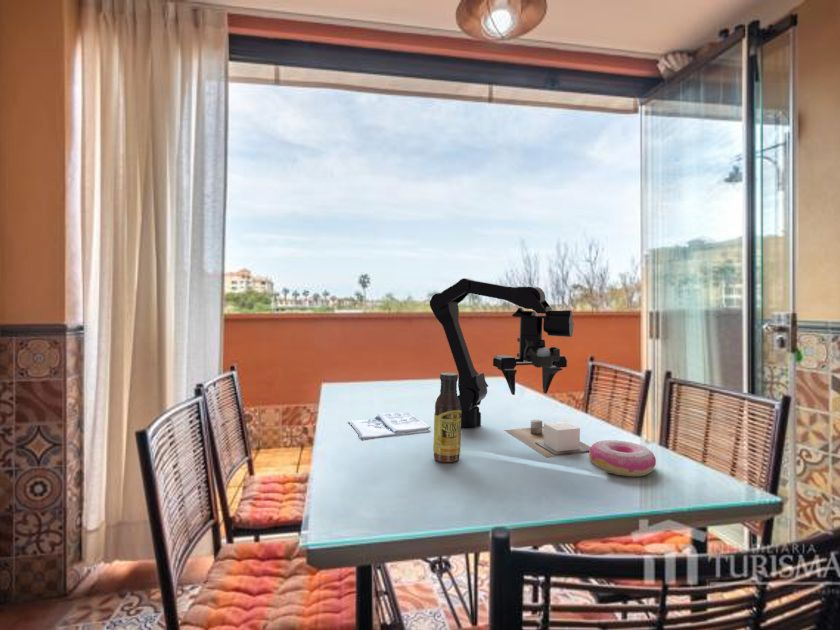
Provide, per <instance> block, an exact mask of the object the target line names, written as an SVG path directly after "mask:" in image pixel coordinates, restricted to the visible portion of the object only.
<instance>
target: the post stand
mask: <svg viewBox="0 0 840 630" xmlns="http://www.w3.org/2000/svg"><path fill="white" fill-rule="evenodd" d="M503 431H505V432H506V433H507V434H509V435H511V436H512V437H514V438H515V439H517V440H518V441H520V442H521V443H523V444H524V445H526V446H528V447H529V448H531V449H532V450H534V451H536V452H538V454H541V455H542V456H543V457H545V458H554V457H555V458H556V457H564V456H572V455H582V454H589V450H590V448H591V446H590V445H588V444H586V443H584V442H582V441H580V449H576V450H566V451H555V450H554V449H552V448H550V447H549V446H547V445H545V444H544V426H543V420H539V419H532V420H530V427H526V428H525V427H524V428H515V429H514V428H513V429H512V428H511V429H504V430H503Z"/></svg>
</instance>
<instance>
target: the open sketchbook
mask: <svg viewBox="0 0 840 630" xmlns="http://www.w3.org/2000/svg"><path fill="white" fill-rule="evenodd" d="M347 423H348V424H349V423H350V424H351V425H352V426H351V425H350V424H349V425H350V426H351V427H352V428H353V430H354V431H355V433H357V434H358V437H359V439H360V440H362V439H365V440H371V438H372V439H379V438H389V437H397V435H399V436H407V434H408V435H415V434H417V435H418V434H427V433H431V430H430V429H431V425H428V424H427V423H425V422H423V421H422V420H421V419H419V418H417V417H416V416H415V415H413V414H411V413H410V412H407V411H406V412H405V411H404V412H391V413H377V415H376V416H375V417H374V418H371V419H370V418H369V419H359V420H348V421H347ZM380 424H385V425H384V426H386V427H387V429H386V428H385V427H382V426H381V427H382V428H381V427H379V426H378V425H380ZM389 429H390V430H389Z"/></svg>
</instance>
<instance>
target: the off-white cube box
mask: <svg viewBox="0 0 840 630" xmlns="http://www.w3.org/2000/svg"><path fill="white" fill-rule="evenodd" d="M543 427H544V444H545V445H547V446H549V447H550V448H552V449H554V450H555V451H566V450H576V449H580V442H581V440H580V439H581V438H580V437H581V434H580V433H581V429H580V427H578V426H576V425H574V424H572V423H569V422H567V421H557V422H544V423H543Z"/></svg>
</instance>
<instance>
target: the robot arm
mask: <svg viewBox="0 0 840 630" xmlns="http://www.w3.org/2000/svg"><path fill="white" fill-rule="evenodd" d="M469 294H471V295H477V296H483V297H488V298H492V299H499V300H505V301H507V302H510V303H511V304H513V305H516V306H519V307H518V308H517V310H516V311H514V313H512V315H511V316H512V317H513V318H519V337H517V339H516V341H517V342H518V344H519V350H518V351H519V352H517V353H516V357H514V356H511V355H509V354H501V355H500V354H499V355H498V354H497V355H495V356H494V357H493V359H492V366H494V367H495V368H497V369H498V370H500V371H501V372H502V374H503V376H504V378H505V380H506V383H507V386H508V389H509V391H510V394H511V395H512V396H513V395H514V396H515V394H516V375H517V371H518V370H517V369H515V368H516V367H517V366H529V365H530V366H531V365H532V366H533V367H535V368H539V369H540V368H541V374H542V375H541V376H542V392H543V393H544V394H547V393H548V391H549V389H550V386H551V384H552V382H553V379H554V377H555V375H556V374H557V373H559V372H561V371H563V368H568V359H567V357H566V356H564V355H561V349H560V348H559V347H558V346H551V347H546V342H545V341H546V340H545V339H544V338H543V333H544V332H545V333H546V334H547V336H548V337H562V338H563V337H564V338H572V337H573V332H574V326H575V325H574V324H575V323H574V321H573V320H574V319H573V311H572V309H564V310H562V309H561V310H559V309H557V310H556V309H554V310H553V308H552V307H551V305H549V303H548V301H547V300H546V294H545V292H544V290H543V289H542V288H541V287H539V286H507V285H503V284H499V283H498V284H497V283H491V282H487V281H486V282H485V281H481V280H475V279H473V278H461V279H460V280H458V281H457V282H455V283H454V284H453V285H451V286H448V288H446V289H444V290H443V291H442V292H437V293H435V294H433V296H431V299H430V300H429V307H430V310H431V312H432V313H433V314H434V317H435V319H437V320H436V321H438V322H439V323H440V324H441V326H442V329H443V331H444V334H445V337H446V341H447V343H448V346H449V350H450V352H451V355H452V358H453V361H454V364H455V367H456V370H457V374H458V380H457V387H458V393H459V394H457V395H458V398H459V401H460V406H461V429H466V430H467V429H470V430H471V429H475V428H477V427H481V426H482V413H481V412H480V407H479V406H480V405H481V402H482V400H484V399H486V396H487V394H488V387H489V384H488V383H487V382H486V377H485V376H486V375H485V374H484V372H481V373H479V372H478V371H477V370H476V369H475V367H474V363H473V360H472V359H471V358H472V357H471V355H470V352H469V349H468V345H467V343H466V340H465V338H464V337H465V336H464V334H463V331H462V328H461V325H460V322H459V317H460V316H459V314H460V310H459V303H461V302H462V301H463V300H465V299H466V298H467V296H468V295H469ZM524 309H526V310H524ZM541 314H544V315H541Z"/></svg>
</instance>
